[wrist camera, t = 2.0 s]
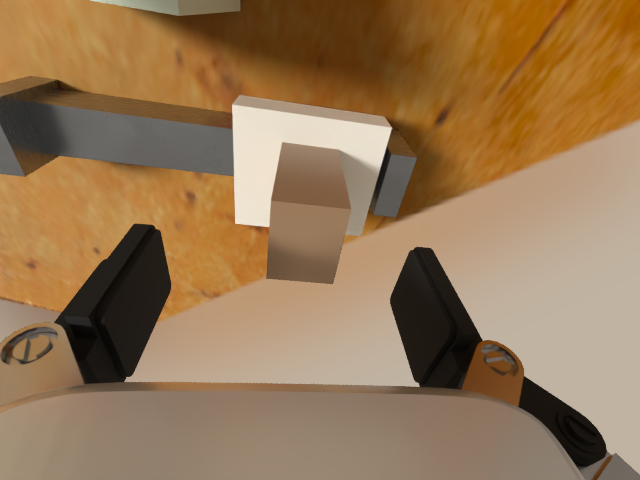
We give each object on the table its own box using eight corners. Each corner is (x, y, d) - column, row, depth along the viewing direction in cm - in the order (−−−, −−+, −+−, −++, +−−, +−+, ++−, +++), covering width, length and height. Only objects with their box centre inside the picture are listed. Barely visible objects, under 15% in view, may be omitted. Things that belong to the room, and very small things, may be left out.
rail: (396, 128, 21) (417, 157, 17) (381, 181, 23) (395, 217, 19) (30, 76, 18) (-47, 95, 14) (55, 141, 21) (-5, 173, 17)
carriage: (377, 107, 19) (428, 181, 11) (353, 204, 23) (377, 309, 15) (245, 87, 18) (195, 152, 10) (245, 192, 22) (210, 296, 14)
